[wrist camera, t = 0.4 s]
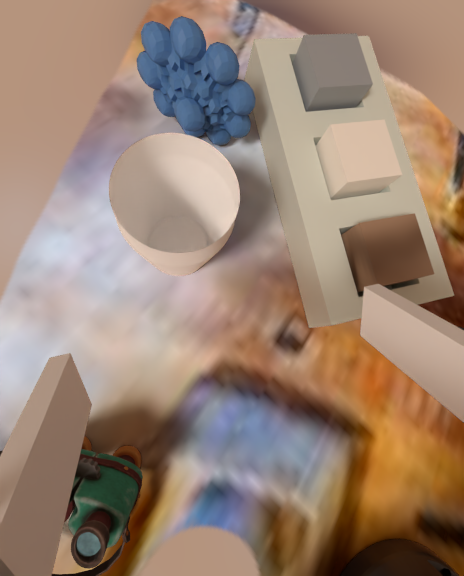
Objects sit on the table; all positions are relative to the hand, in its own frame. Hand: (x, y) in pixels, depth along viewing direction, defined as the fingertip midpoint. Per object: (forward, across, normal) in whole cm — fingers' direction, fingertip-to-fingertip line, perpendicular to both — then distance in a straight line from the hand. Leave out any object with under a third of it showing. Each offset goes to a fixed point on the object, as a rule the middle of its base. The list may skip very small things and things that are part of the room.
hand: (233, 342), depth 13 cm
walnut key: (+15, -18, +4) cm, 24 cm away
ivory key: (+20, -18, -4) cm, 27 cm away
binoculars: (+9, +13, +18) cm, 24 cm away
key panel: (+23, -18, -2) cm, 29 cm away
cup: (+21, +1, +1) cm, 21 cm away
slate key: (+25, -18, -13) cm, 34 cm away
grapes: (+27, -3, -9) cm, 29 cm away
